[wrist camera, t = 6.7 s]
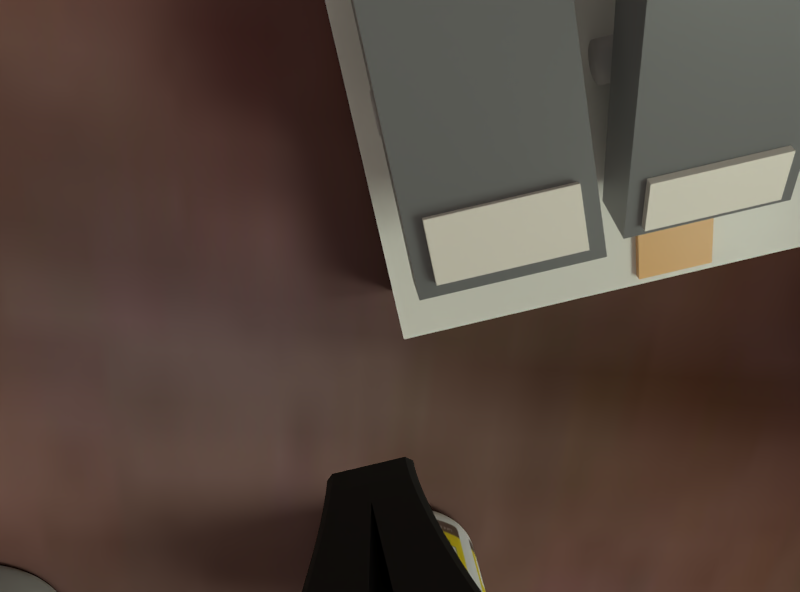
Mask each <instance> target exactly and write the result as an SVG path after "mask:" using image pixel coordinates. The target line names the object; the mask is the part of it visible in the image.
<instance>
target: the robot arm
mask: <svg viewBox="0 0 800 592" xmlns="http://www.w3.org/2000/svg"><path fill="white" fill-rule="evenodd" d="M302 592H481V590H480V589H479V587H478V586H477V584H476V583H475V581H474V580H473V579H472V577H471V576H470V574H469V573H468V571H467V569H466V568H465V566H464V565H463V563H462V562H461V560H460V558H459V557H458V555H457V554H456V552H455V550H454V549H453V547H452V545H451V544H450V542H449V540H448V539H447V537H446V535H445V534H444V532H443V530H442V528H441V527H440V525H439V523H438V521H437V519H436V517H435V515H434V513H433V511H432V509H431V507H430V505H429V503H428V501H427V499H426V497H425V495H424V492H423V490H422V488H421V485H420V483H419V480H418V477H417V474H416V470H415V467H414V463H413V460H411V459H409V458H406V457H403V458H398V459H394V460H390V461H386V462H381V463H377V464H373V465H369V466H364V467H360V468H356V469H352V470H347V471H343V472H339V473H335V474H332V475H331V477H330V478H329V479H328V480H327V489H326V496H325V502H324V508H323V513H322V518H321V523H320V527H319V531H318V535H317V540H316V544H315V548H314V552H313V555H312V559H311V562H310V566H309V569H308V573H307V576H306V580H305V583H304V587H303V590H302Z"/></svg>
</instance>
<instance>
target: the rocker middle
mask: <svg viewBox="0 0 800 592" xmlns="http://www.w3.org/2000/svg"><path fill="white" fill-rule="evenodd" d="M799 171H800V0H616V2H615V17H614V33H613V48H612V63H611V78H610V93H609V108H608V123H607V138H606V153H605V168H604V183H603V198H602V201H603V203H604V205H605V206H606V208H607V210H608V212H609V214H610V215H611V217H612V219H613V221H614V223H615V224H616V226H617V228H618V230H619V232H620V233H621V235H622V237H623V239H625V238H630V237H634V236H638V235H643V234H647V233H651V232H655V231H660V230H664V229H668V228H673V227H677V226H681V225H685V224H690V223H694V222H698V221H703V220H707V219H711V218H715V217H720V216H724V215H728V214H733V213H737V212H741V211H745V210H750V209H754V208H758V207H763V206H767V205H771V204H775V203H780V202H784V201H788V200H791V197H792V194H793V190H794V187H795V184H796V181H797V177H798V174H799Z"/></svg>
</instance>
